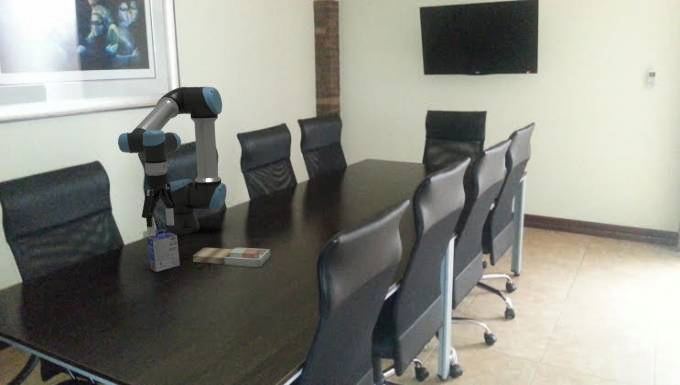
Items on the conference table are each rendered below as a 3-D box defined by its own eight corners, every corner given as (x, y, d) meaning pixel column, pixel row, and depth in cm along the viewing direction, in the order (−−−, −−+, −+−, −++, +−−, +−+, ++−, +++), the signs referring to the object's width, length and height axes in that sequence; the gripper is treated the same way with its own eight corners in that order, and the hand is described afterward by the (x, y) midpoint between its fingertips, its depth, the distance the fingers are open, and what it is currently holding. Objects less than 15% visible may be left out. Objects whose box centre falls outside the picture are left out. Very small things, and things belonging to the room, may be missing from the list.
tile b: (242, 260, 213) (242, 253, 213) (247, 256, 218) (246, 249, 218) (254, 261, 212) (254, 254, 212) (259, 257, 217) (259, 249, 217)
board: (193, 261, 215) (192, 255, 214) (204, 253, 225) (204, 247, 224) (224, 264, 212) (224, 257, 212) (234, 255, 222) (234, 249, 221)
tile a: (230, 259, 215) (229, 252, 214) (235, 255, 219) (234, 248, 219) (242, 260, 214) (241, 253, 213) (247, 256, 218) (246, 249, 218)
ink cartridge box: (173, 262, 215) (170, 226, 212) (180, 265, 211) (177, 229, 208) (149, 268, 209) (145, 231, 205) (156, 272, 205) (152, 234, 201)
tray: (224, 265, 211) (224, 257, 211) (236, 254, 223) (236, 247, 222) (259, 267, 209) (259, 259, 208) (270, 256, 220) (270, 249, 219)
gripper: (147, 180, 189) (152, 240, 194) (182, 167, 213) (186, 221, 217) (127, 179, 191) (133, 239, 195) (164, 167, 214) (168, 220, 219)
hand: (161, 230), depth 206 cm, fingers open, 13 cm apart
